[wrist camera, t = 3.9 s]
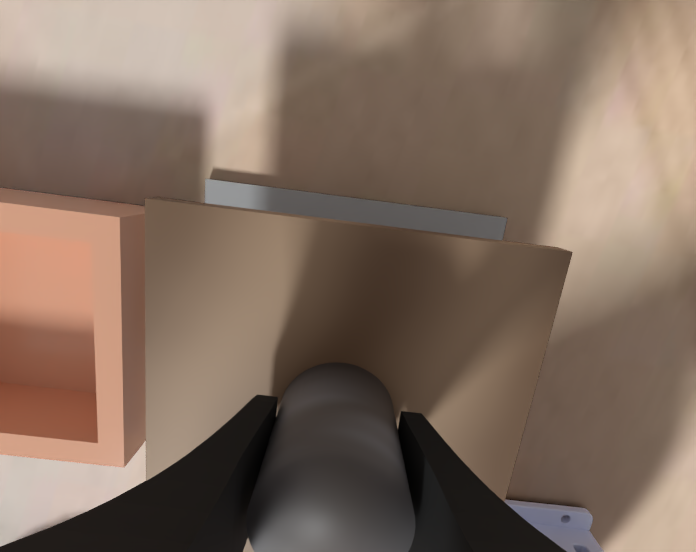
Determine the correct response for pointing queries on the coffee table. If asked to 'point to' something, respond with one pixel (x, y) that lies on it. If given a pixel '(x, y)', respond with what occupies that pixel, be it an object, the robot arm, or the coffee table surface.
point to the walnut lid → (340, 358)
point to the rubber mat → (353, 209)
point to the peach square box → (71, 328)
